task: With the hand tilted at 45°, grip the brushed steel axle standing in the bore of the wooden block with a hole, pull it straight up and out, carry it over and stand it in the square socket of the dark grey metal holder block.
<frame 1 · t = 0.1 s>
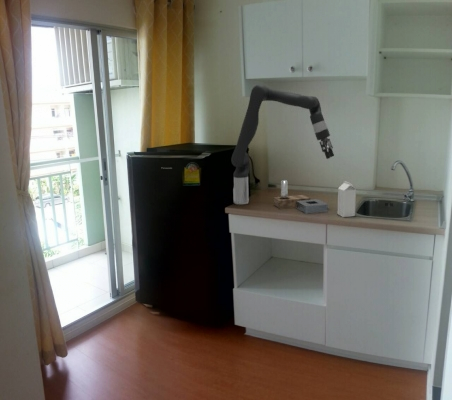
hand: (330, 157, 234), 31 cm above the worktop, tool tilted 20°, fingers open, 8 cm apart
wooden block with hole: (291, 205, 256), on the worktop
milk carton: (345, 215, 231), on the worktop
holder: (311, 209, 244), on the worktop
axle: (284, 206, 255), resting in wooden block with hole
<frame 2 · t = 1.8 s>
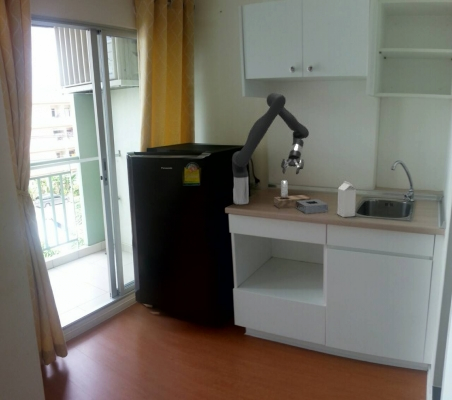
hand: (290, 173, 261), 19 cm above the worktop, tool tilted 45°, fingers open, 8 cm apart
nothing on the worktop moved.
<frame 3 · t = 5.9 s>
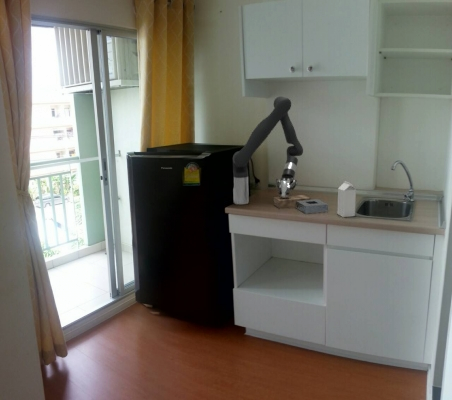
hand: (283, 194, 252), 8 cm above the worktop, tool tilted 45°, fingers closed on axle, 4 cm apart
axle: (284, 206, 255), resting in wooden block with hole, touching gripper
everything else where it was.
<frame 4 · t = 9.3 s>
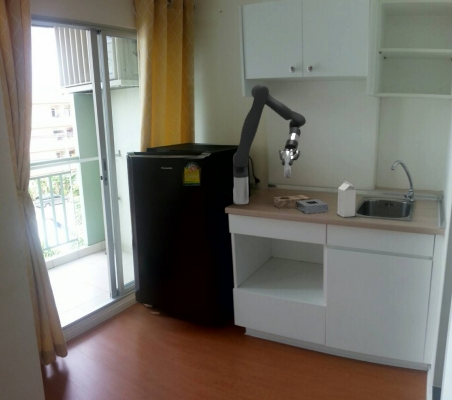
hand: (286, 164, 247), 26 cm above the worktop, tool tilted 45°, fingers closed on axle, 4 cm apart
axle: (287, 177, 250), point 18 cm above the worktop, touching gripper
everything else where it was.
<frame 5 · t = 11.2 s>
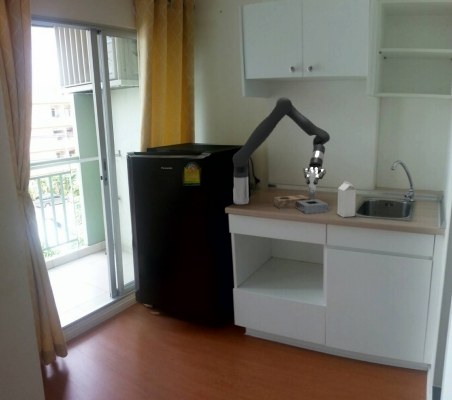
hand: (311, 183, 239), 16 cm above the worktop, tool tilted 45°, fingers closed on axle, 4 cm apart
axle: (312, 196, 243), point 8 cm above the worktop, touching gripper
everything else where it was.
when the fingers open (9 cm above the worktop, at t = 13.0 s): axle drops 1 cm, resting in holder.
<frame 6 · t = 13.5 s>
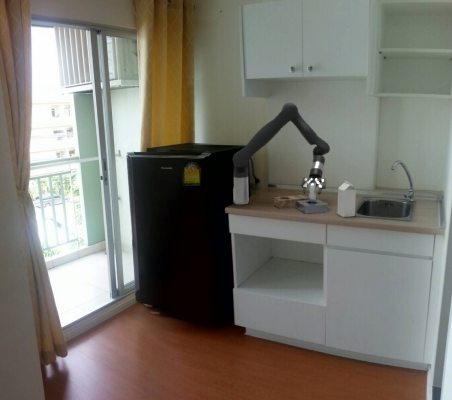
hand: (311, 193, 241), 10 cm above the worktop, tool tilted 45°, fingers open, 8 cm apart
axle: (311, 209, 244), resting in holder
everything else where it was.
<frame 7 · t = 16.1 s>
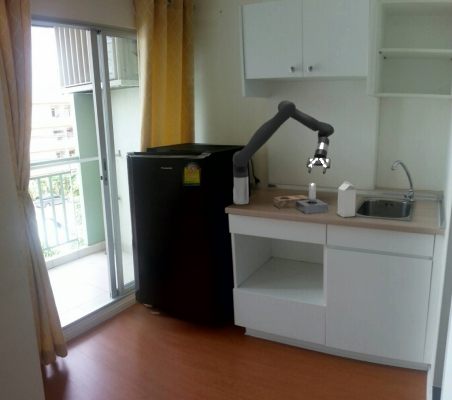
hand: (316, 172, 250), 20 cm above the worktop, tool tilted 45°, fingers open, 8 cm apart
nothing on the worktop moved.
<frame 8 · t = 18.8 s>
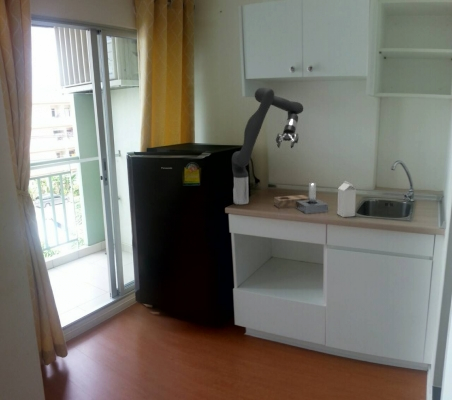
hand: (284, 147, 264), 35 cm above the worktop, tool tilted 45°, fingers open, 8 cm apart
nothing on the worktop moved.
at the end: axle 0.1 cm off-centre on the holder, point 0.0 cm above the holder's base; axle tilted 0°; the gripper is holding nothing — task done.
